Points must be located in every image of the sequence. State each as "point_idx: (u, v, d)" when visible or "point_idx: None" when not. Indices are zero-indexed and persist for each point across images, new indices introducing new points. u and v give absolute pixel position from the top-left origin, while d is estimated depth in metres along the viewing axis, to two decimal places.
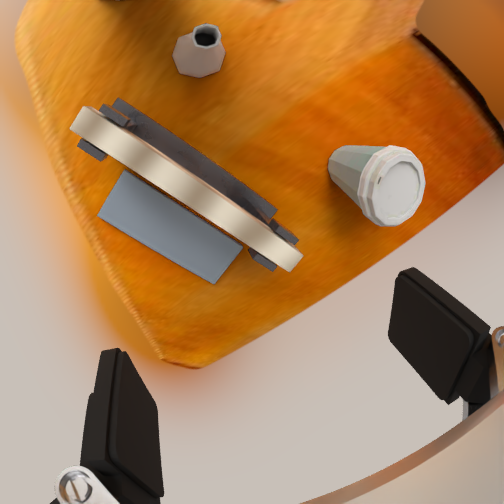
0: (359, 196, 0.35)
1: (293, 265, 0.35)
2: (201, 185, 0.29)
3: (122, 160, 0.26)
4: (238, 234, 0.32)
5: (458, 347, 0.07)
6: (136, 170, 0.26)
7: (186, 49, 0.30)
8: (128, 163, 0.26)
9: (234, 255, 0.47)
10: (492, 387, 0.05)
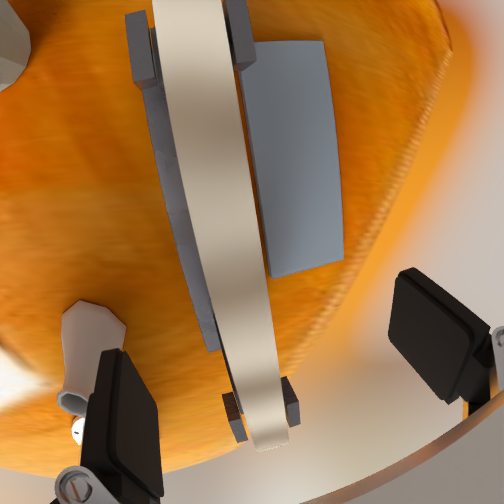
0: None
1: None
2: (214, 302, 0.13)
3: (279, 396, 0.17)
4: (235, 148, 0.11)
5: (458, 347, 0.07)
6: (277, 379, 0.16)
7: None
8: (277, 390, 0.16)
9: (258, 45, 0.20)
10: (492, 387, 0.05)
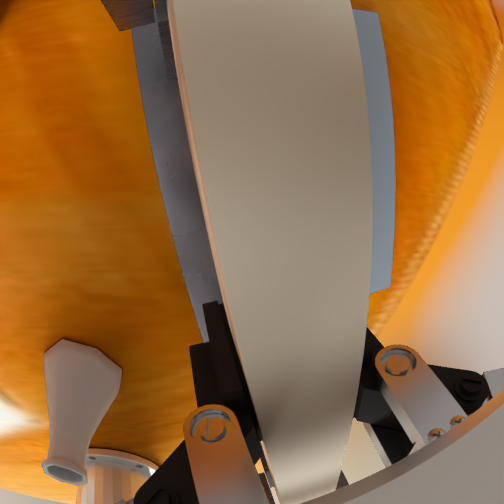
0: None
1: None
2: (267, 436, 0.07)
3: (330, 491, 0.10)
4: (349, 159, 0.04)
5: None
6: (335, 480, 0.10)
7: (96, 426, 0.17)
8: (330, 488, 0.10)
9: None
10: (402, 421, 0.05)
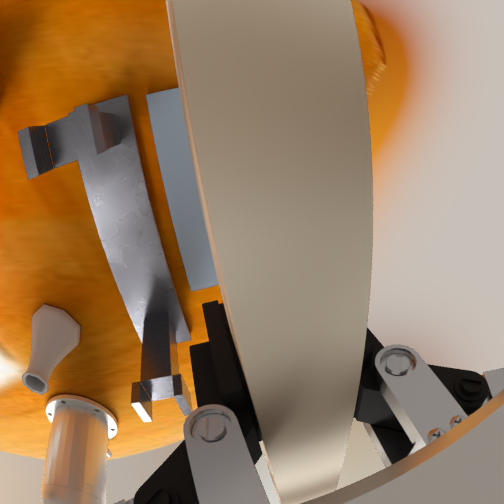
0: None
1: None
2: (267, 436, 0.07)
3: None
4: (349, 158, 0.04)
5: None
6: (335, 481, 0.10)
7: (59, 359, 0.28)
8: (330, 489, 0.10)
9: (165, 93, 0.25)
10: (402, 421, 0.05)
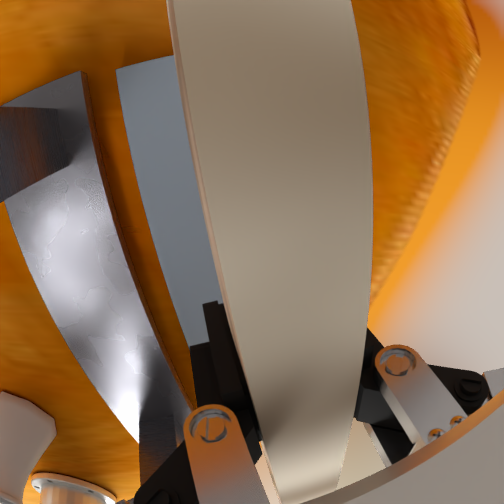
0: None
1: None
2: (267, 435, 0.07)
3: None
4: (349, 157, 0.04)
5: None
6: (335, 480, 0.10)
7: (33, 464, 0.16)
8: (330, 488, 0.10)
9: (153, 65, 0.12)
10: (402, 422, 0.05)
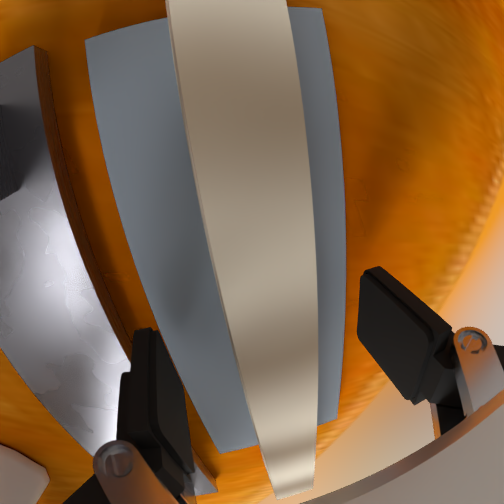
0: None
1: None
2: (245, 374, 0.09)
3: (311, 454, 0.13)
4: (291, 153, 0.06)
5: (419, 347, 0.07)
6: (313, 440, 0.12)
7: None
8: (310, 450, 0.12)
9: (142, 31, 0.07)
10: (462, 393, 0.05)
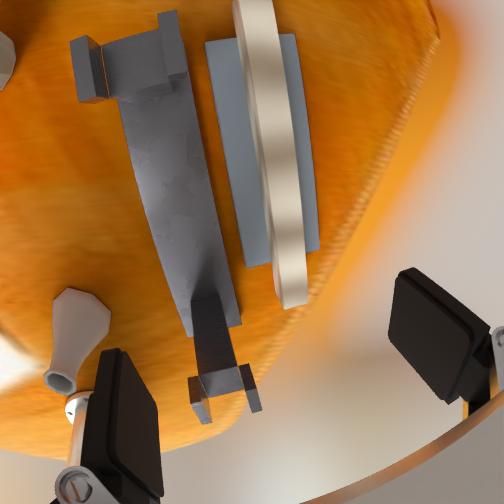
0: None
1: None
2: (266, 162, 0.23)
3: (302, 245, 0.27)
4: (280, 81, 0.20)
5: (458, 347, 0.07)
6: (301, 227, 0.26)
7: (88, 352, 0.26)
8: (301, 239, 0.26)
9: (227, 42, 0.20)
10: (492, 387, 0.05)
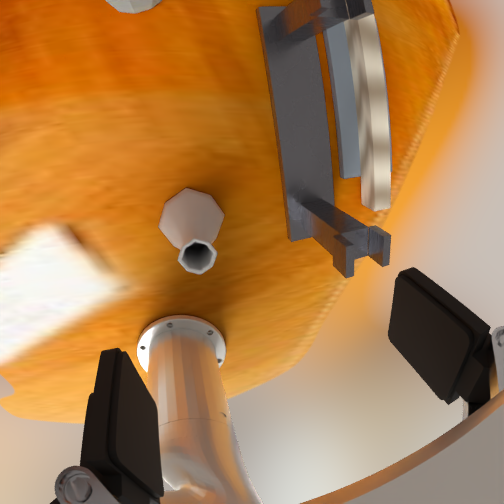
0: None
1: None
2: (369, 93, 0.29)
3: (388, 157, 0.33)
4: (376, 44, 0.26)
5: (458, 347, 0.07)
6: (388, 144, 0.32)
7: None
8: (388, 152, 0.32)
9: None
10: (492, 387, 0.05)
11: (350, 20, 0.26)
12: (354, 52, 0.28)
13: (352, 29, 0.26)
